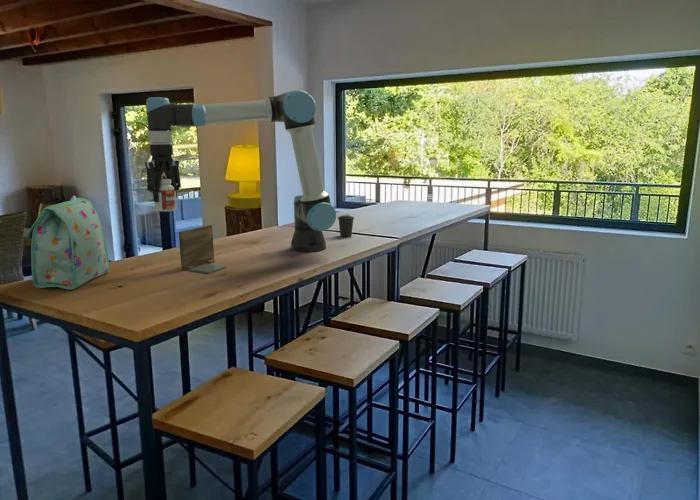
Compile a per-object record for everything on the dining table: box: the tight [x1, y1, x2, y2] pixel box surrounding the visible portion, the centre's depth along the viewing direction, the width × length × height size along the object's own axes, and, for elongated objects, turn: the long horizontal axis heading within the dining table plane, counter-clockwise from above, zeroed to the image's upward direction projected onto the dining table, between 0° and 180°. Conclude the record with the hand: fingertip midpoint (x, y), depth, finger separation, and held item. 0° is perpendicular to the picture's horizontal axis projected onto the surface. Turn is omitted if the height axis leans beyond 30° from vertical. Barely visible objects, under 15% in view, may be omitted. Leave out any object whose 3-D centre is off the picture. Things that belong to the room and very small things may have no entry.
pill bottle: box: [159, 178, 176, 212], centre depth 180 cm, size 6×6×11 cm
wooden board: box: [178, 224, 216, 271], centre depth 188 cm, size 4×16×14 cm, turn 155°
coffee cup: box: [337, 214, 355, 238], centre depth 244 cm, size 8×8×10 cm
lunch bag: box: [25, 197, 111, 290], centre depth 166 cm, size 23×16×27 cm
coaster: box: [188, 263, 226, 275], centre depth 184 cm, size 9×9×1 cm
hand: (166, 209), depth 181 cm, fingers closed on pill bottle, 6 cm apart
